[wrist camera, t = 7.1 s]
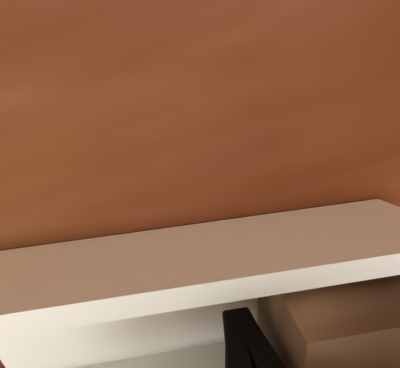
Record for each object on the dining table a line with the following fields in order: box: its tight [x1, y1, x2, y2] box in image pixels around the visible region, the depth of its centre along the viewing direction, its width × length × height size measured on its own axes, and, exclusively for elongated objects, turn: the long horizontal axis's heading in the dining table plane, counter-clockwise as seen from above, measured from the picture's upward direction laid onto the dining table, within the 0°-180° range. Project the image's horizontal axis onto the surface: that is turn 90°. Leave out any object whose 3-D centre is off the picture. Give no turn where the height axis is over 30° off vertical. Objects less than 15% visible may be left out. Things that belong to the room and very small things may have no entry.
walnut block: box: [258, 275, 400, 368], centre depth 9 cm, size 6×6×4 cm
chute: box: [0, 199, 400, 368], centre depth 10 cm, size 22×9×4 cm, turn 96°
